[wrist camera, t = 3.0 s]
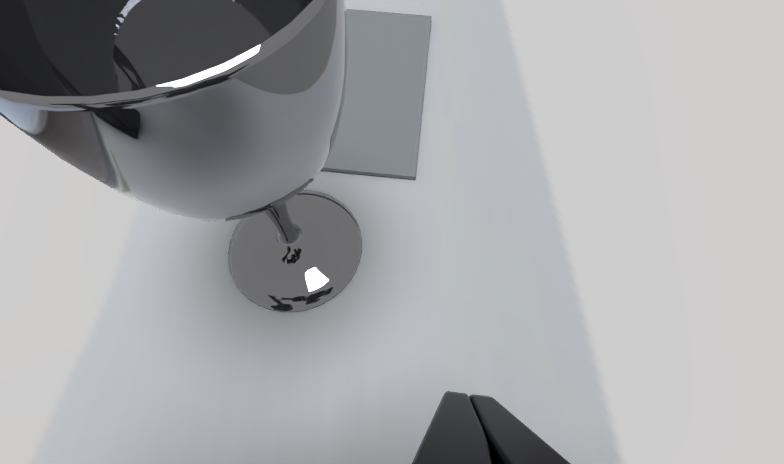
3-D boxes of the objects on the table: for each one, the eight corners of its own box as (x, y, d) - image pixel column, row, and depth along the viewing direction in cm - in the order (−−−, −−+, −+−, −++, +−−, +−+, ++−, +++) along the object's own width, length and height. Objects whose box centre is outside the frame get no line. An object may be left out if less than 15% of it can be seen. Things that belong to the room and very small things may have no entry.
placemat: (415, 179, 23) (415, 176, 23) (215, 159, 24) (212, 156, 23) (431, 19, 29) (431, 16, 29) (271, 6, 30) (270, 2, 29)
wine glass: (394, 280, 21) (409, 9, 7) (245, 347, 19) (-109, 171, 5) (336, 164, 24) (267, -180, 10) (203, 215, 22) (-91, -112, 8)
